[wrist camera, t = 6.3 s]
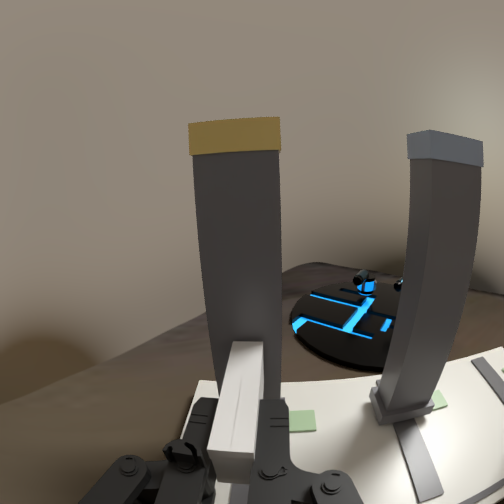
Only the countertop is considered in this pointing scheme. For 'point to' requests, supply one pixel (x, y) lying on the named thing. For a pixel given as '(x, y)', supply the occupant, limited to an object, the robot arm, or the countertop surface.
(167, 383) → the countertop surface
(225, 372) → the robot arm
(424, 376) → the slate paddle
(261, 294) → the mustard paddle
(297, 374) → the countertop surface
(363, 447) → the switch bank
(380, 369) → the platform
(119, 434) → the countertop surface
